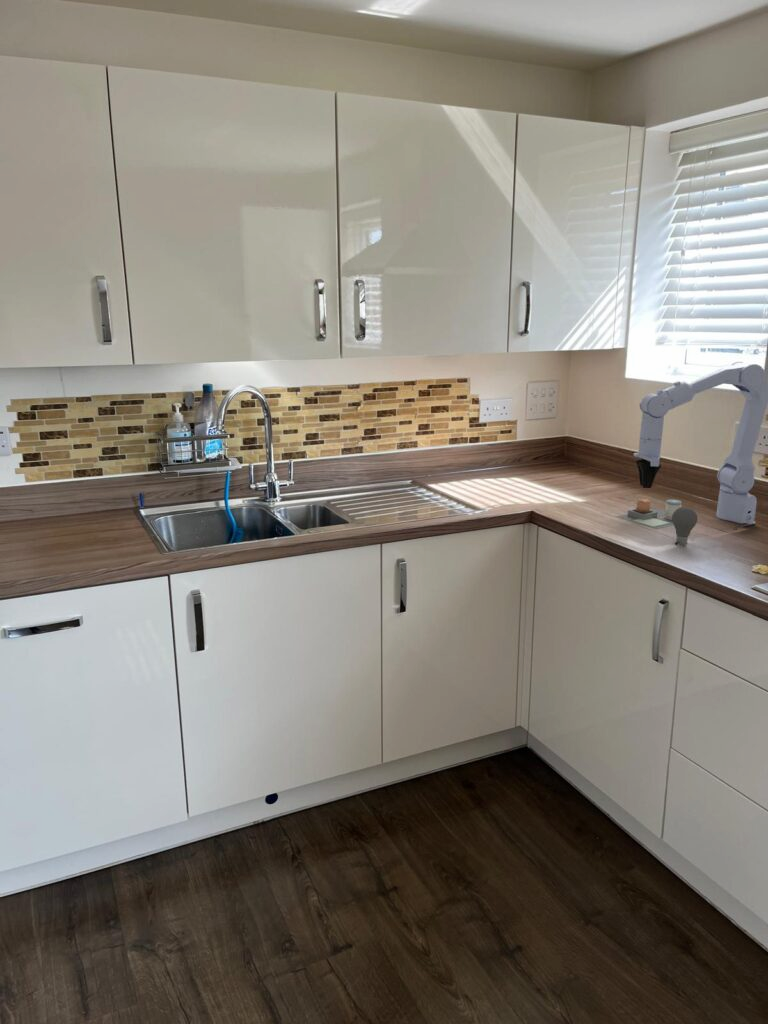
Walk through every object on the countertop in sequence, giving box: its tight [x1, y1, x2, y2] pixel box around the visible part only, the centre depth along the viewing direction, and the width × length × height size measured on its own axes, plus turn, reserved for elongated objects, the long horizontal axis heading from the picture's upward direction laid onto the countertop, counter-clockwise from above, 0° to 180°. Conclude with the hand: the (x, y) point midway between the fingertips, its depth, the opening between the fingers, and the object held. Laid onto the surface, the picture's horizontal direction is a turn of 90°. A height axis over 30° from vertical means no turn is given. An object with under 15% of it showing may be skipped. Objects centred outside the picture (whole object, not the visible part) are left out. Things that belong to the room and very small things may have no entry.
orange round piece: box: [635, 498, 652, 513], centre depth 213 cm, size 4×4×3 cm
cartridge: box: [664, 499, 683, 521], centre depth 213 cm, size 4×4×6 cm
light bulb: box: [671, 506, 698, 546], centre depth 192 cm, size 6×6×10 cm
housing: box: [615, 508, 674, 530], centre depth 213 cm, size 14×17×3 cm
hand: (645, 486), depth 212 cm, fingers closed
